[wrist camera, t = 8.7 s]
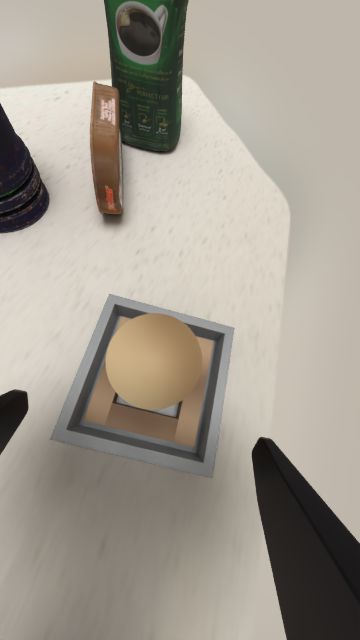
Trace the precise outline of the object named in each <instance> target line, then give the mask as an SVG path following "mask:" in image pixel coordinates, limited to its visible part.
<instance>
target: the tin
mask: <svg viewBox="0 0 360 640" xmlns="http://www.w3.org/2000/svg"><path fill="white" fill-rule="evenodd" d="M90 149H91V164H92V173H93V182H94V188H95V195H96V200H97V205H98V208H99V212H100V213H101V214H103V213H109V214H121V213H122V212H123V168H122V143H121V132H120V128H119V91H118V89H117V88H114V87H111V86H107V85H102V84H98V83H97V82H93V95H92V109H91V124H90Z"/></svg>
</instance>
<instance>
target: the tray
mask: <svg viewBox="0 0 360 640" xmlns="http://www.w3.org/2000/svg"><path fill="white" fill-rule="evenodd" d="M151 313H160V314H166V315H169V316H172V317H175V318H177V319H178V320H180V321H182V322H183V323H184V324H186V325H187V326H188V327H189V328H190V329H191V330H192V332H193V333H194V334H195V336H196V337H200V338H204V339H208V340H211V341H214V342H213V348H212V353H211V359H210V364H209V370H208V375H207V381H206V386H205V392H204V397H203V403H202V408H201V414H200V419H199V425H198V430H197V436H196V441H195V447H190V446H186V445H182V444H178V443H174V442H169V441H165V440H161V439H157V438H153V437H149V436H145V435H141V434H137V433H133V432H129V431H124V430H120V429H116V428H112V427H108V426H104V425H100V424H96V423H92V422H88V421H83V419H84V416H85V414H86V411H87V408H88V405H89V403H90V400H91V397H92V394H93V392H94V389H95V386H96V384H97V381H98V378H99V375H100V373H101V370H102V367H103V364H104V362H105V359H106V353H107V349H108V346H109V343H110V341H111V339H112V337H113V336H114V334H115V332H116V329H117V326H118V323H119V321H120V318H121V316H122V317H125V318H129V319H133V318H135V317H138V316H140V315H144V314H151ZM233 334H234V328H233V327H229V326H226V325H222V324H218V323H215V322H211V321H207V320H204V319H200V318H196V317H193V316H189V315H185V314H182V313H178V312H174V311H171V310H167V309H163V308H159V307H156V306H152V305H148V304H145V303H141V302H137V301H134V300H130V299H126V298H123V297H119V296H115V295H112V294H109V296H108V298H107V301H106V303H105V305H104V308H103V310H102V313H101V315H100V318H99V320H98V323H97V325H96V328H95V330H94V333H93V335H92V337H91V340H90V342H89V345H88V347H87V350H86V352H85V355H84V357H83V360H82V362H81V365H80V367H79V369H78V372H77V374H76V377H75V379H74V382H73V384H72V387H71V389H70V392H69V394H68V397H67V399H66V401H65V404H64V406H63V409H62V411H61V414H60V416H59V419H58V421H57V424H56V426H55V429H54V431H53V433H52V436H51V438H50V440H55V441H59V442H63V443H67V444H71V445H76V446H80V447H84V448H88V449H92V450H96V451H101V452H105V453H109V454H113V455H117V456H122V457H126V458H130V459H134V460H138V461H143V462H147V463H151V464H155V465H159V466H163V467H168V468H172V469H176V470H180V471H184V472H189V473H193V474H197V475H201V476H205V477H210V478H212V477H213V470H214V463H215V456H216V449H217V443H218V436H219V429H220V422H221V416H222V409H223V402H224V395H225V388H226V382H227V375H228V368H229V361H230V354H231V348H232V341H233ZM116 402H117V403H121V404H125V405H129V406H133V405H131V404H129V403H128V402H126V401H125V400H123V399H122V398H121V397H120V396H119V395H118V397H117V400H116ZM178 405H179V402H178V403H177V404H175V405H173V406H171V407H167V408H164V409H158V410H149V411H153V412H157V413H161V414H165V415H169V416H173V417H176V414H177V410H178ZM133 407H136V406H133ZM137 408H138V407H137ZM141 409H142V408H141ZM145 410H148V409H145Z"/></svg>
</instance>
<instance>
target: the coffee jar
mask: <svg viewBox="0 0 360 640" xmlns="http://www.w3.org/2000/svg"><path fill="white" fill-rule="evenodd" d="M104 4H105V11H106V18H107V27H108V37H109V48H110V60H111V76H112V87H114V88H117V89H118V91H119V128H120V132H121V140H122V141H124V142H126V143H128V144H131V145H134V146H138V147H142V148H146V149H150V150H156V151H168V150H170V149H172V148H173V147H174V146H175V145H176V144H177V142H178V139H179V136H180V129H181V113H182V67H183V46H184V33H185V32H184V31H185V21H186V11H187V4H188V0H104Z"/></svg>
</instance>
